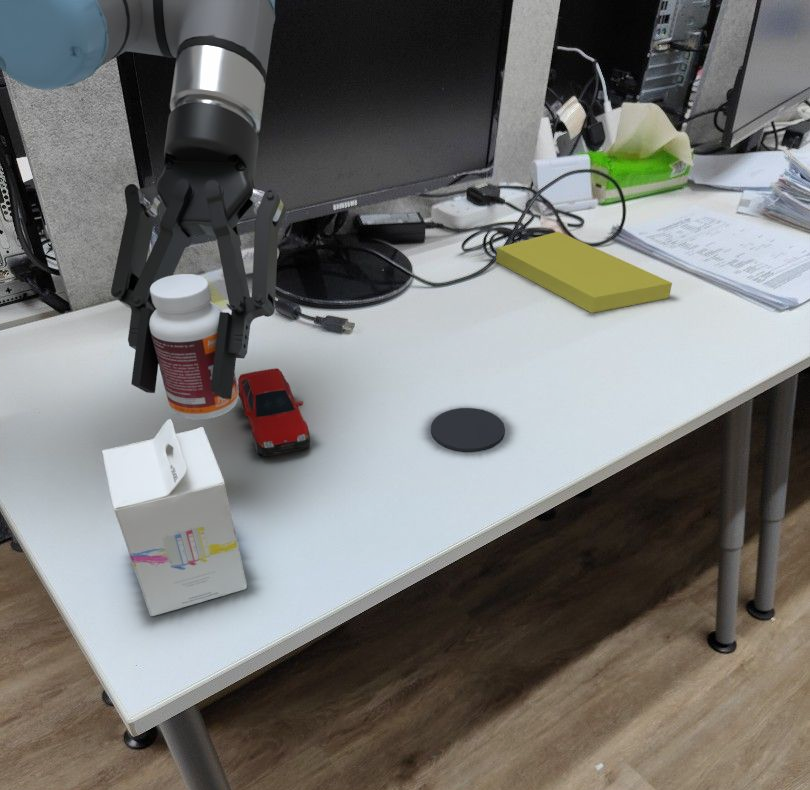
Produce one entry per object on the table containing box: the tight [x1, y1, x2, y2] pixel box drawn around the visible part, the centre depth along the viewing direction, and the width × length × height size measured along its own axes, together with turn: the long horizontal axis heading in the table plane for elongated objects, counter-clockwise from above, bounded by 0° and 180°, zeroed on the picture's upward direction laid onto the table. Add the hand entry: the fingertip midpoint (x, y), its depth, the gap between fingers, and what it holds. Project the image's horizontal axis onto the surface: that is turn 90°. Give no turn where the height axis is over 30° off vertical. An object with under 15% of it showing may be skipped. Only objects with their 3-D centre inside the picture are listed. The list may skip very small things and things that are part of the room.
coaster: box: [430, 407, 506, 453], centre depth 83 cm, size 8×8×1 cm
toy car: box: [237, 367, 311, 457], centre depth 83 cm, size 6×14×5 cm, turn 19°
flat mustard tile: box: [495, 231, 673, 314], centre depth 111 cm, size 12×2×24 cm
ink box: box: [101, 418, 248, 617], centre depth 62 cm, size 9×8×13 cm
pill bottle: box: [149, 273, 239, 421], centre depth 65 cm, size 6×6×11 cm
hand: (181, 391), depth 64 cm, fingers closed on pill bottle, 6 cm apart
